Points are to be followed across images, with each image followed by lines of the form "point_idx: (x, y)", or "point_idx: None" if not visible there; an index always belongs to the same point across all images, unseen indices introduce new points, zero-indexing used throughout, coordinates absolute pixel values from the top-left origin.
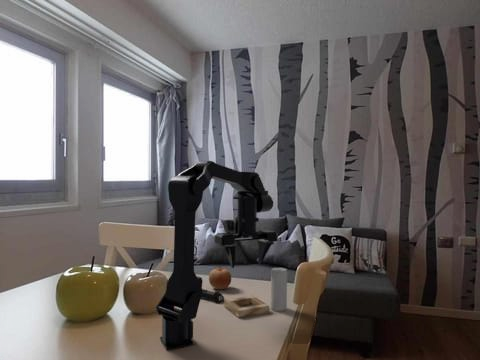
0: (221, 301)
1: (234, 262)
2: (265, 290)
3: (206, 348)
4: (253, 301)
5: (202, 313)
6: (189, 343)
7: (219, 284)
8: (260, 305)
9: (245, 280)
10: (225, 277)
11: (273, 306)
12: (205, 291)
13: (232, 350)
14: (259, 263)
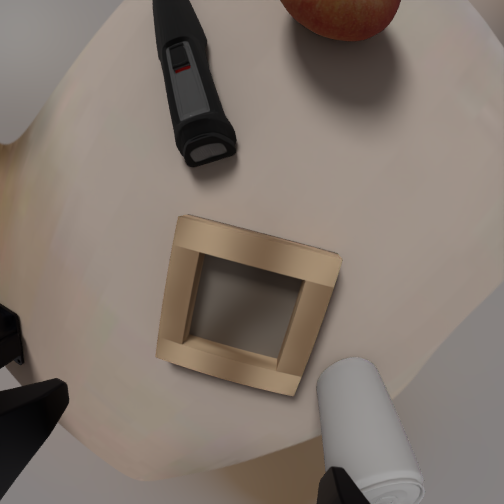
0: (212, 160)
1: (43, 439)
2: (481, 179)
3: None
4: (295, 307)
5: (89, 223)
6: (16, 362)
7: (301, 23)
8: (266, 376)
9: (480, 31)
10: (338, 17)
11: (317, 393)
12: (174, 68)
13: (77, 429)
14: (322, 483)
